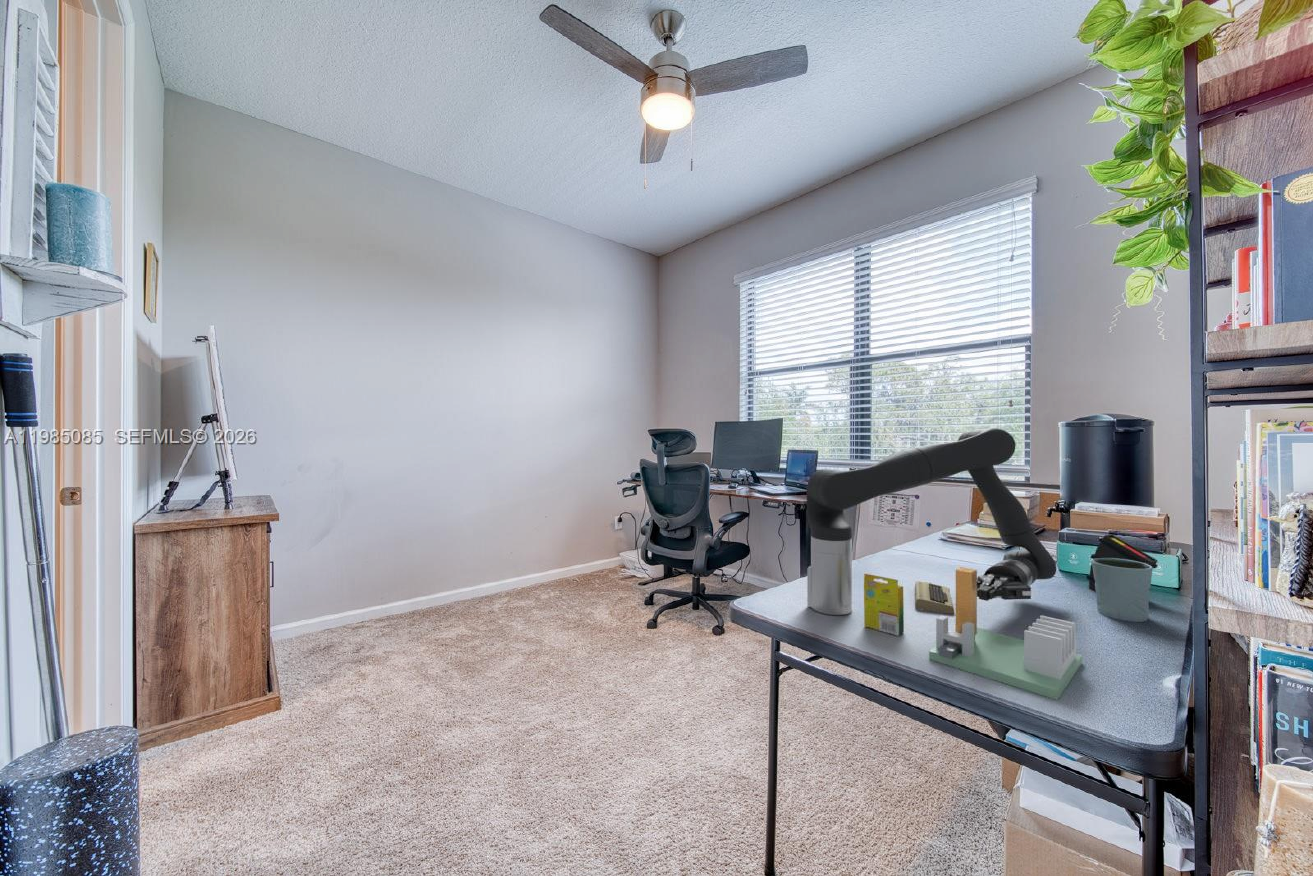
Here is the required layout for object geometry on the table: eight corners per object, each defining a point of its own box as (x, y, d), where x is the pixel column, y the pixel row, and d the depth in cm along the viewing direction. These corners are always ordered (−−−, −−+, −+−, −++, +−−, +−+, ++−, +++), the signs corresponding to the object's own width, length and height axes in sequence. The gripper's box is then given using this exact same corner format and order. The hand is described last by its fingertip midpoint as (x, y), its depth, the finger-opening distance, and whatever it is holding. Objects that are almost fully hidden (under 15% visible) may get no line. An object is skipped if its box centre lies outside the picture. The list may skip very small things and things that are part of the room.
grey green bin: (1165, 623, 110) (1165, 568, 110) (1119, 623, 110) (1120, 569, 110) (1121, 607, 120) (1122, 557, 120) (1080, 607, 120) (1080, 557, 120)
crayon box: (904, 632, 106) (904, 577, 106) (898, 636, 104) (898, 580, 104) (869, 623, 111) (869, 570, 111) (863, 626, 109) (863, 573, 109)
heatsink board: (929, 659, 94) (929, 616, 93) (965, 632, 106) (965, 594, 106) (1057, 700, 79) (1057, 649, 79) (1081, 663, 92) (1082, 619, 91)
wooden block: (937, 654, 92) (937, 579, 92) (960, 636, 100) (961, 567, 100) (954, 659, 90) (954, 582, 90) (976, 641, 98) (977, 570, 97)
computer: (954, 616, 116) (954, 601, 116) (915, 610, 120) (915, 597, 120) (949, 596, 130) (949, 583, 130) (914, 592, 134) (914, 579, 134)
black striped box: (1083, 578, 138) (1111, 533, 132) (1135, 613, 127) (1169, 566, 121) (1073, 579, 137) (1101, 534, 131) (1126, 615, 126) (1159, 567, 120)
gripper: (975, 556, 120) (947, 570, 109) (1044, 567, 110) (1021, 584, 98) (975, 588, 120) (947, 605, 109) (1044, 602, 110) (1021, 622, 99)
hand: (982, 595), depth 104 cm, fingers closed
